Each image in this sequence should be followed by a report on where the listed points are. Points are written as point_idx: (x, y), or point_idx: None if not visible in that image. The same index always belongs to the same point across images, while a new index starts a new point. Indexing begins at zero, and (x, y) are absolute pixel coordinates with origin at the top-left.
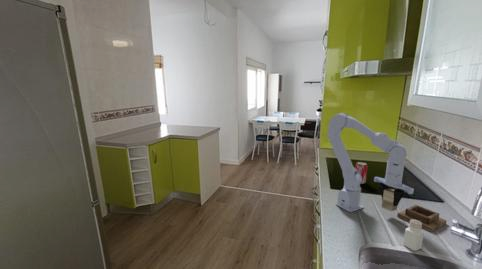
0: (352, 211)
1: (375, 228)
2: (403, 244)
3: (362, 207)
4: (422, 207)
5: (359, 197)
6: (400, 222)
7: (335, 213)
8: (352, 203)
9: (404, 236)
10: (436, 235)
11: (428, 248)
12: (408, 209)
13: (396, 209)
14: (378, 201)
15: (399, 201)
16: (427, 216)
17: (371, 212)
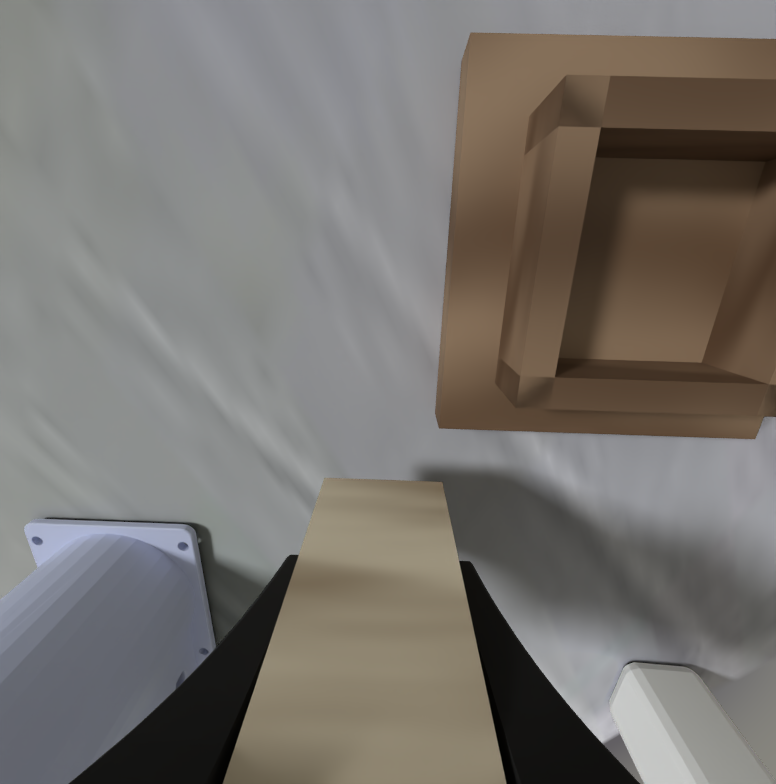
0: (215, 647)
1: None
2: (610, 706)
3: (194, 547)
4: (674, 95)
5: (116, 704)
6: (497, 485)
7: None
8: (158, 701)
9: (643, 780)
10: (760, 437)
11: (724, 630)
12: (541, 388)
13: (441, 486)
14: (127, 240)
15: (497, 609)
16: (690, 178)
17: (280, 533)
